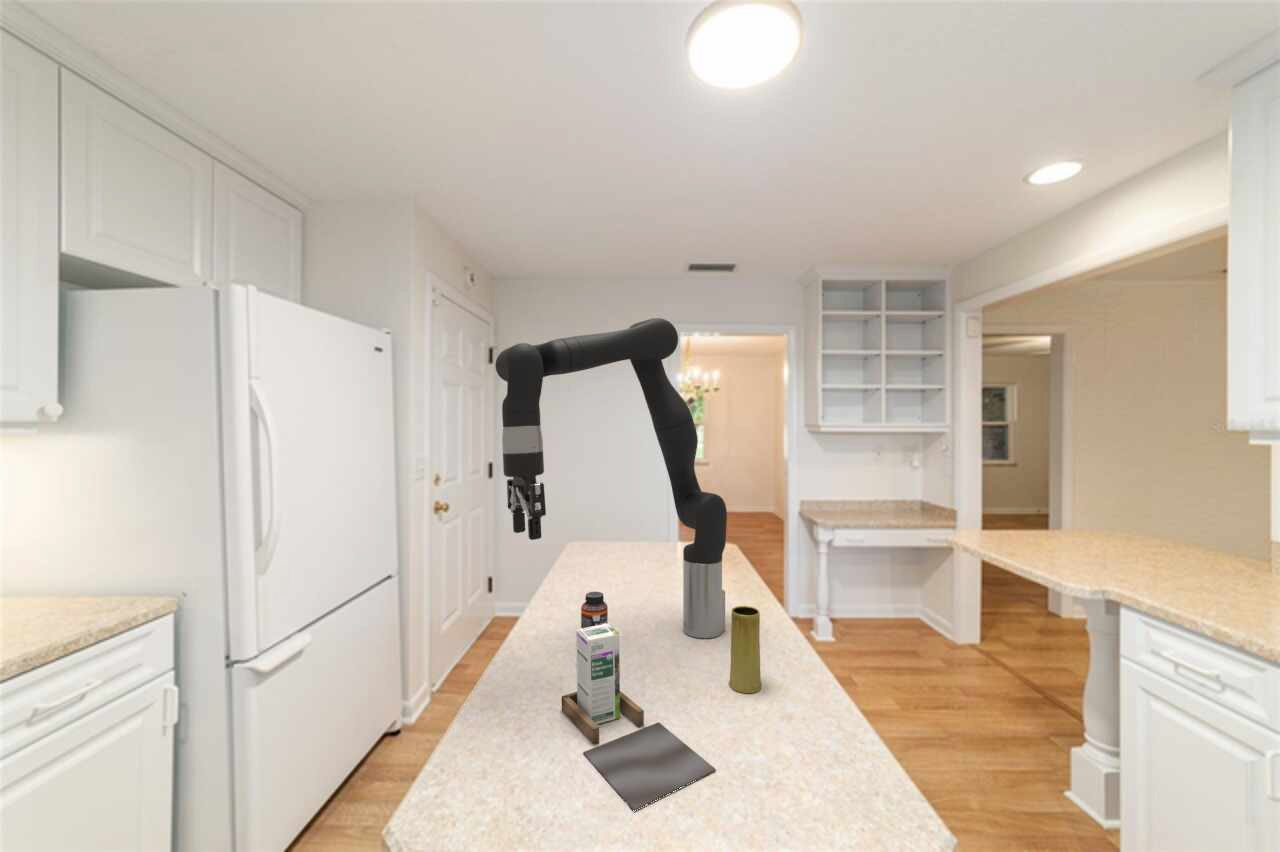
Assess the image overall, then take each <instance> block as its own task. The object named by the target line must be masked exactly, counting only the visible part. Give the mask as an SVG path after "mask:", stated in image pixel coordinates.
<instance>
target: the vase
mask: <svg viewBox="0 0 1280 852" xmlns="http://www.w3.org/2000/svg"><path fill="white" fill-rule="evenodd" d="M760 613H761V612H760V610H759V609H758V608H756V607H753V606H749V605H739V606H735V607H732V609H731V617H730V619H731V623H730V624H731V628H730V629H731V630H730V631H731V633H730V669H729V670H730V672H729V674H730V675H729V681H728V684H729V687H730V688H731V689H732V690H734V691H736V692H739V693H741V694H754V693H758V692H759V691H760V690H761V689H762V687H763V685H762V677H761V643H760V635H761V634H760V632H761V631H760V630H761V629H760V625H761V623H760V620H761V619H760V617H761V615H760Z"/></svg>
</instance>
